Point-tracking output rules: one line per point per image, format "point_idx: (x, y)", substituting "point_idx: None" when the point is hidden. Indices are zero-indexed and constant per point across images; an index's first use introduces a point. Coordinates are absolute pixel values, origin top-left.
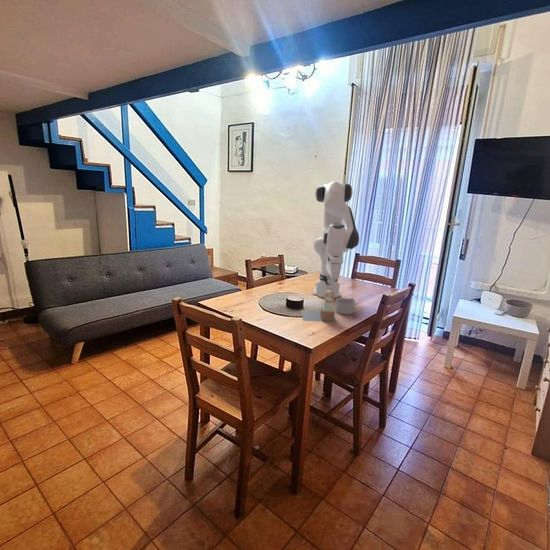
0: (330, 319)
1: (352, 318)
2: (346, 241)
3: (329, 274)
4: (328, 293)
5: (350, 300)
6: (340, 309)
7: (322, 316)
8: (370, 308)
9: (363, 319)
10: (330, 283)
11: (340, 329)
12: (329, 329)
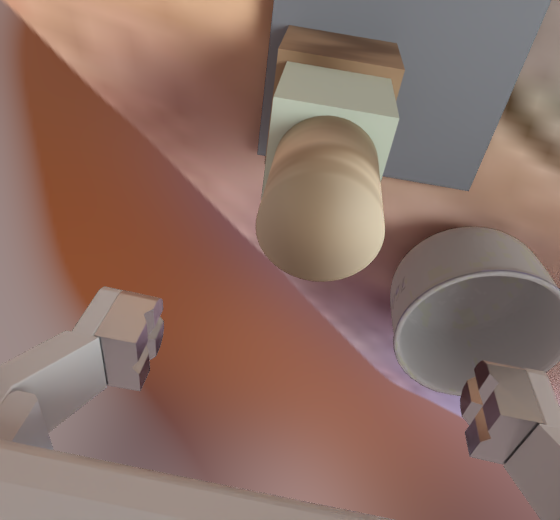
0: None
1: (362, 283)
2: None
3: (64, 474)
4: (267, 194)
5: None
6: (426, 253)
7: (284, 36)
8: None
9: (340, 332)
10: (133, 305)
11: (164, 136)
12: (149, 46)
